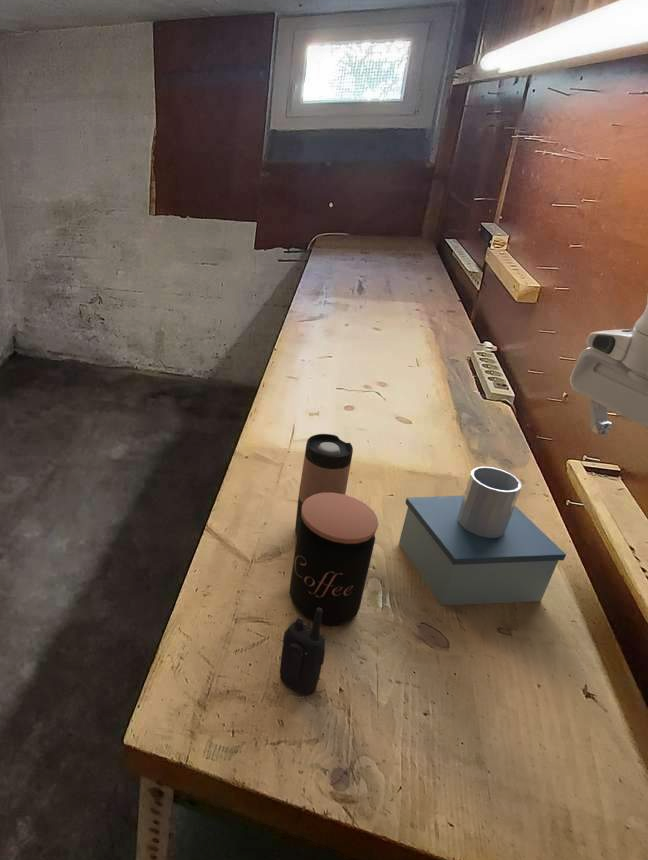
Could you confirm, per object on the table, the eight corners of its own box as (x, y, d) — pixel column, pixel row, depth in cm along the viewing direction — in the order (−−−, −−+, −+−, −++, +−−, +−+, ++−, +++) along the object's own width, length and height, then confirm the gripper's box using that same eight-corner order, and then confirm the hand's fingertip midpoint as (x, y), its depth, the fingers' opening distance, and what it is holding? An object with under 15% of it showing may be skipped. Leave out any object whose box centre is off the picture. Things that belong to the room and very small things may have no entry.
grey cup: (496, 513, 93) (511, 469, 89) (511, 540, 87) (528, 494, 83) (452, 508, 94) (465, 464, 90) (464, 535, 89) (479, 489, 85)
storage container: (487, 538, 102) (502, 493, 98) (545, 603, 89) (566, 554, 84) (395, 542, 102) (406, 497, 98) (439, 607, 89) (455, 559, 84)
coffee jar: (275, 603, 91) (287, 515, 83) (308, 567, 97) (321, 483, 89) (339, 642, 84) (359, 550, 76) (369, 601, 90) (390, 513, 82)
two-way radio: (321, 686, 78) (337, 608, 71) (307, 709, 75) (322, 631, 68) (284, 663, 81) (295, 587, 74) (269, 684, 78) (280, 607, 71)
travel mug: (294, 546, 102) (307, 454, 93) (292, 519, 109) (304, 431, 100) (339, 552, 100) (357, 459, 91) (334, 524, 107) (350, 435, 98)
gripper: (795, 392, 60) (735, 495, 66) (620, 326, 78) (586, 412, 85) (742, 396, 60) (687, 500, 66) (578, 329, 78) (547, 415, 84)
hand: (629, 450), depth 75 cm, fingers open, 8 cm apart
